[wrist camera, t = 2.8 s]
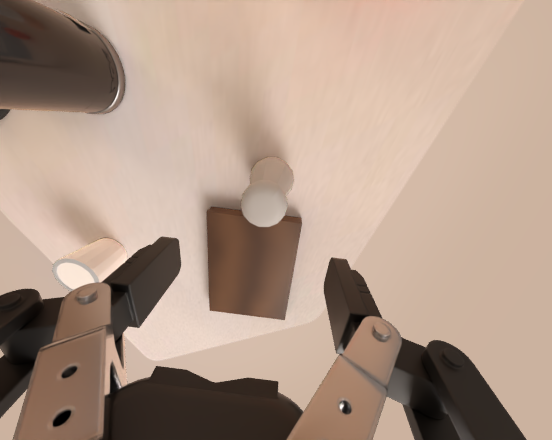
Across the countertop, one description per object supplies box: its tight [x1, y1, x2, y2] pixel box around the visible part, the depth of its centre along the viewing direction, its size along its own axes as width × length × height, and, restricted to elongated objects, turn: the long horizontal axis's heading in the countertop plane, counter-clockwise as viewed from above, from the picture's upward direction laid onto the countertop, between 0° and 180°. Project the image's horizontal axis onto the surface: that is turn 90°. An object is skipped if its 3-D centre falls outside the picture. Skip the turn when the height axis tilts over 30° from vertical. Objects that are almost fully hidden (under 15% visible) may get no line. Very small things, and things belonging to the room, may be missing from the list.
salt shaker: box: [241, 157, 294, 227], centre depth 25 cm, size 6×6×13 cm
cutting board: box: [207, 207, 302, 320], centre depth 36 cm, size 14×20×2 cm
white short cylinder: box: [52, 238, 127, 291], centre depth 35 cm, size 7×7×7 cm
